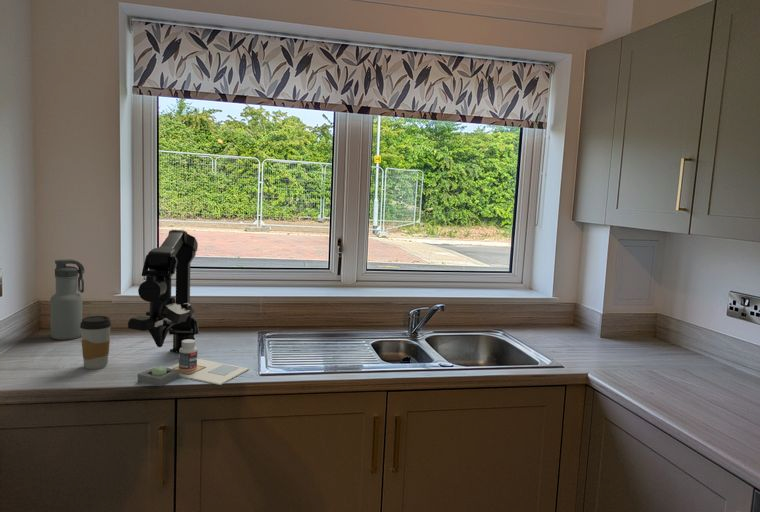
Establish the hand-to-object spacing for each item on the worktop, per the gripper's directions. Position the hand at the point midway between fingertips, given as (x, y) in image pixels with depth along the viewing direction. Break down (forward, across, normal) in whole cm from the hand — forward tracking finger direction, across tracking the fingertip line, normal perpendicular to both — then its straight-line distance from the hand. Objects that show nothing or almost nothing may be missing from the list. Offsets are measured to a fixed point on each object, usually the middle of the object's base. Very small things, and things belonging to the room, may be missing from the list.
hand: (159, 346), depth 147 cm
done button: (+10, 0, 0) cm, 10 cm away
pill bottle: (+10, +10, -2) cm, 14 cm away
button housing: (+10, 0, 0) cm, 10 cm away
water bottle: (+10, +18, +57) cm, 61 cm away
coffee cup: (+10, 0, +24) cm, 26 cm away
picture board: (+10, +12, -7) cm, 17 cm away
